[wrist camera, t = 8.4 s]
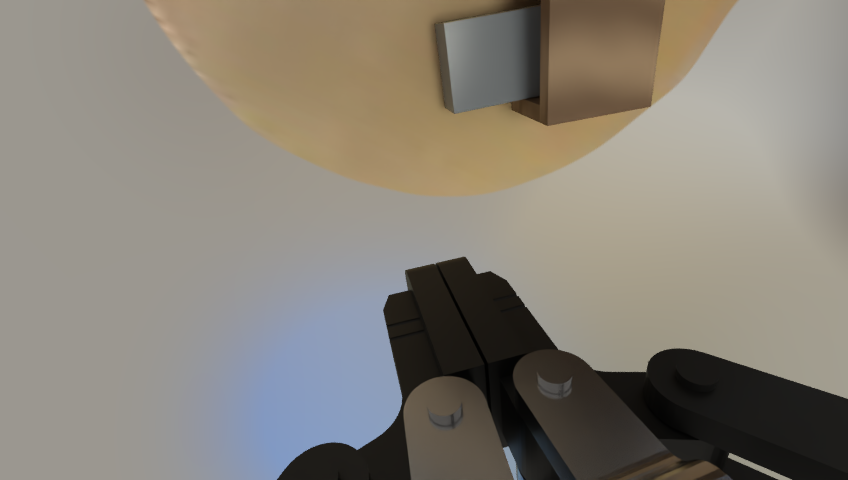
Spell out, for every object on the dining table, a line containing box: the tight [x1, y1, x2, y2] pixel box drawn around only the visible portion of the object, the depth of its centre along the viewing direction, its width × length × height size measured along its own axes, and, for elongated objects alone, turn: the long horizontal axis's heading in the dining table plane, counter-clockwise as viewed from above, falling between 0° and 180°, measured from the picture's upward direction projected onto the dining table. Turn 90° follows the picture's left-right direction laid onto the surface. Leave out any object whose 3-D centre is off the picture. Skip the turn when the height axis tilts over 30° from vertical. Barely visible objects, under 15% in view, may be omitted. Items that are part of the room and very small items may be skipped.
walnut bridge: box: [512, 0, 665, 126], centre depth 29 cm, size 12×8×6 cm, turn 7°
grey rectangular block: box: [435, 4, 541, 114], centre depth 31 cm, size 6×12×3 cm, turn 98°
